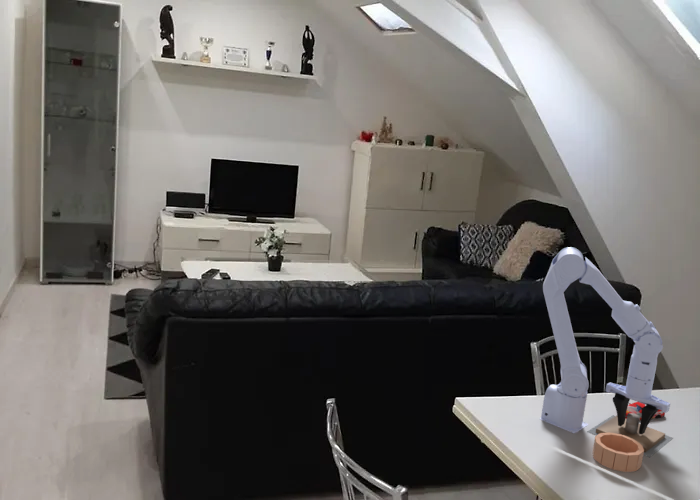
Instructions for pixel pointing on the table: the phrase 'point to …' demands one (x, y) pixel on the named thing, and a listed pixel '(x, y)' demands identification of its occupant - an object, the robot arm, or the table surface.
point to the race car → (637, 409)
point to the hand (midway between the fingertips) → (631, 428)
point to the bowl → (618, 452)
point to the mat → (648, 453)
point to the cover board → (640, 438)
